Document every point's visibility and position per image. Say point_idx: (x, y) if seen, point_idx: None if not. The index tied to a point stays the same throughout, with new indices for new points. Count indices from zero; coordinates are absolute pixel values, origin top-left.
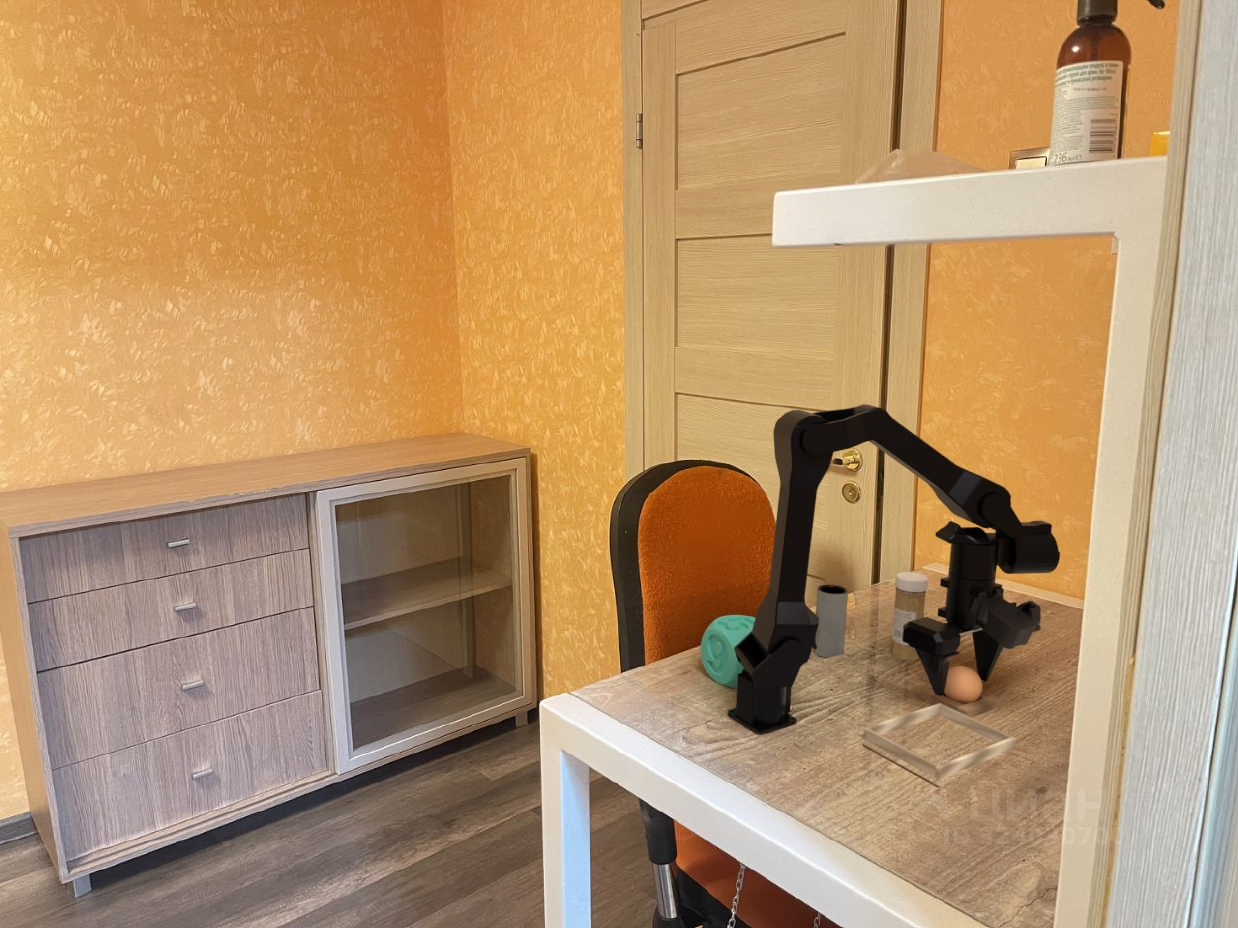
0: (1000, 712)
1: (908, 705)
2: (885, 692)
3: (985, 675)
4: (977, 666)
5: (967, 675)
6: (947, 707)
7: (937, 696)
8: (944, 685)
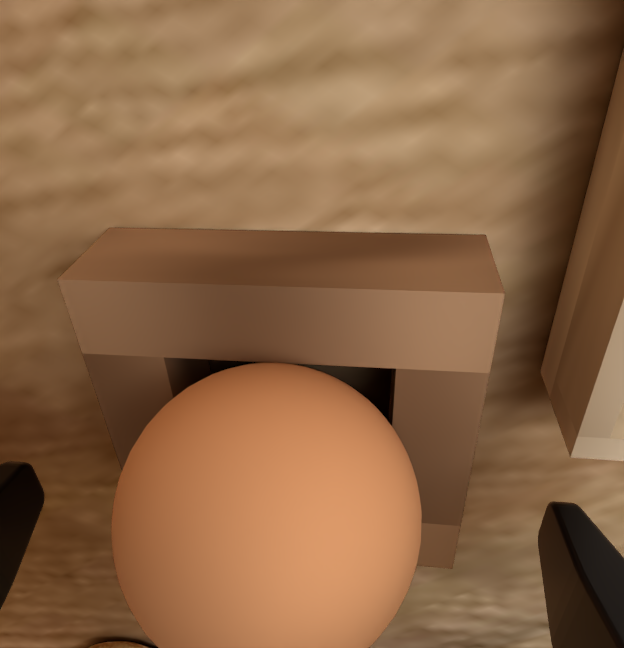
0: (83, 237)
1: (500, 517)
2: (459, 608)
3: (4, 503)
4: (3, 593)
5: (300, 587)
6: (602, 396)
7: (438, 503)
8: (603, 583)
